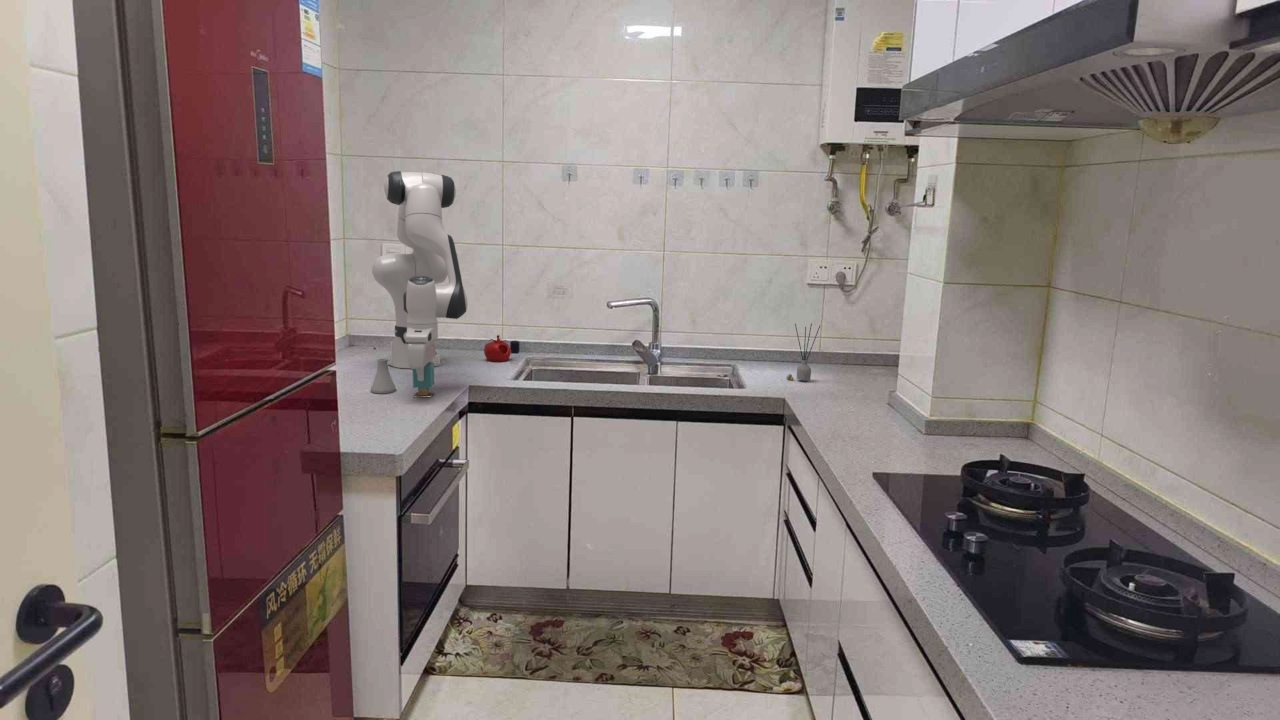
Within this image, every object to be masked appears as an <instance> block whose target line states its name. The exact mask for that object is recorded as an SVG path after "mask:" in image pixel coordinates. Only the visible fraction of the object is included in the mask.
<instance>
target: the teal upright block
mask: <svg viewBox="0 0 1280 720" xmlns="http://www.w3.org/2000/svg"><path fill="white" fill-rule="evenodd" d="M424 374H425V379H424V380H423V381H418V376H417V372H416V369H412V387H413V388H416V389H418V388H429V389H431V388H432V387H433V386H434V385H435V366H434V362H429V363H428V364H427V365H426V366H425V367H424Z"/></svg>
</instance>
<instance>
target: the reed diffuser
mask: <svg viewBox="0 0 1280 720" xmlns="http://www.w3.org/2000/svg"><path fill="white" fill-rule="evenodd" d="M812 324H813V323H812V322H811V323H810V327H809V334H808V338H807V337H806V336H807V335H806V334H807V326H805V327H804V341H806V338H807V344H806V343H804V345H803V352H802V347H801V343H800V338H799V333H798V328H797V324H796V323H794V326H795V329H796V330H795V331H796V336H797V340H798V344H799V345H798V346H799V349H800V355H801V364H800V365H799V366H798V367H797V369H796V379H797V380H798V381H810V380H811V375H812V368H811V366H809V365H808V359H809V356H810V354H811V351H812V348H813V347H814V344H815V342H816V338H817V335H818V334H819V333H818V332H819V330H820V328H821V325H819V326H818V329H817V331H816V334H815V337H814V339H813V342H812V345H811V347H810V349H809V353H808V354H807V352H808V348H809V347H808V345H809V341H810V336H811V330H812V326H813V325H812ZM786 380H788V381H789V380H790V381H794V377H793V374H792V373H789V374H787V375H786Z"/></svg>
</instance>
